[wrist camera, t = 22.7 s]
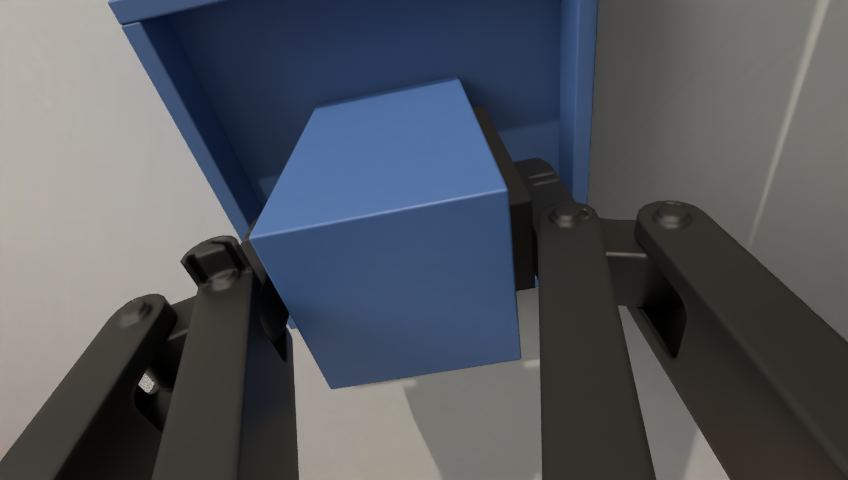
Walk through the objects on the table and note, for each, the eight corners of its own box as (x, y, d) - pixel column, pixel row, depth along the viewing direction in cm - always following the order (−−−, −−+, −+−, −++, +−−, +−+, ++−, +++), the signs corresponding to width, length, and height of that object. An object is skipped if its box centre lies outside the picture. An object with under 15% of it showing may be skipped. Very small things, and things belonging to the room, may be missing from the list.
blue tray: (145, -7, 13) (105, 1, 11) (576, -109, 12) (605, -117, 10) (299, 297, 20) (290, 329, 19) (567, 250, 19) (583, 279, 18)
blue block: (316, 104, 14) (247, 238, 8) (457, 74, 14) (509, 188, 7) (356, 222, 17) (330, 390, 11) (474, 200, 17) (521, 360, 10)
